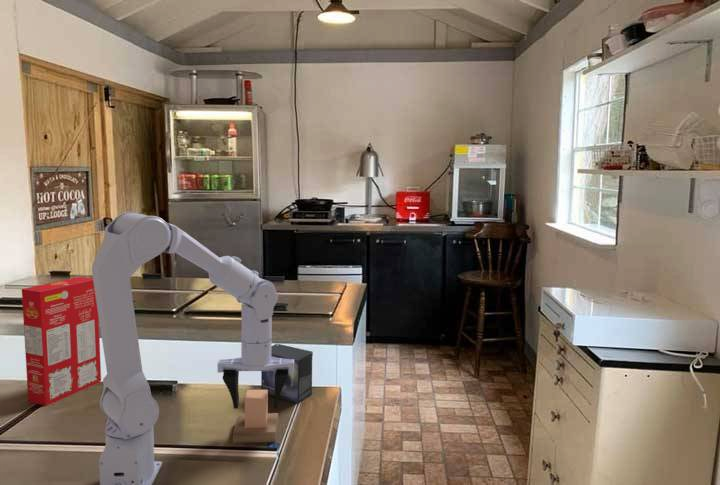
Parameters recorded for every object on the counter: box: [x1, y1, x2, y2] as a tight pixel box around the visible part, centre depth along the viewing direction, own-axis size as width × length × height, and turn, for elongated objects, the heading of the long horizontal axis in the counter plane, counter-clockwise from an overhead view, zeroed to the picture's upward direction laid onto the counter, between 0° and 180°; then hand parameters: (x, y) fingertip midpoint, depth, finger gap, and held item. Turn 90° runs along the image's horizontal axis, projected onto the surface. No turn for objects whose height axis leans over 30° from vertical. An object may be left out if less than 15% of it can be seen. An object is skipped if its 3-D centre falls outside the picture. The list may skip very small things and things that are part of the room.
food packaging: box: [21, 276, 102, 407], centre depth 120 cm, size 15×5×25 cm, turn 160°
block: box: [244, 389, 269, 428], centre depth 104 cm, size 4×4×6 cm
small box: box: [260, 343, 314, 404], centre depth 123 cm, size 11×6×10 cm, turn 62°
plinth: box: [232, 412, 279, 444], centre depth 105 cm, size 8×8×2 cm
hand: (256, 406), depth 104 cm, fingers open, 7 cm apart
